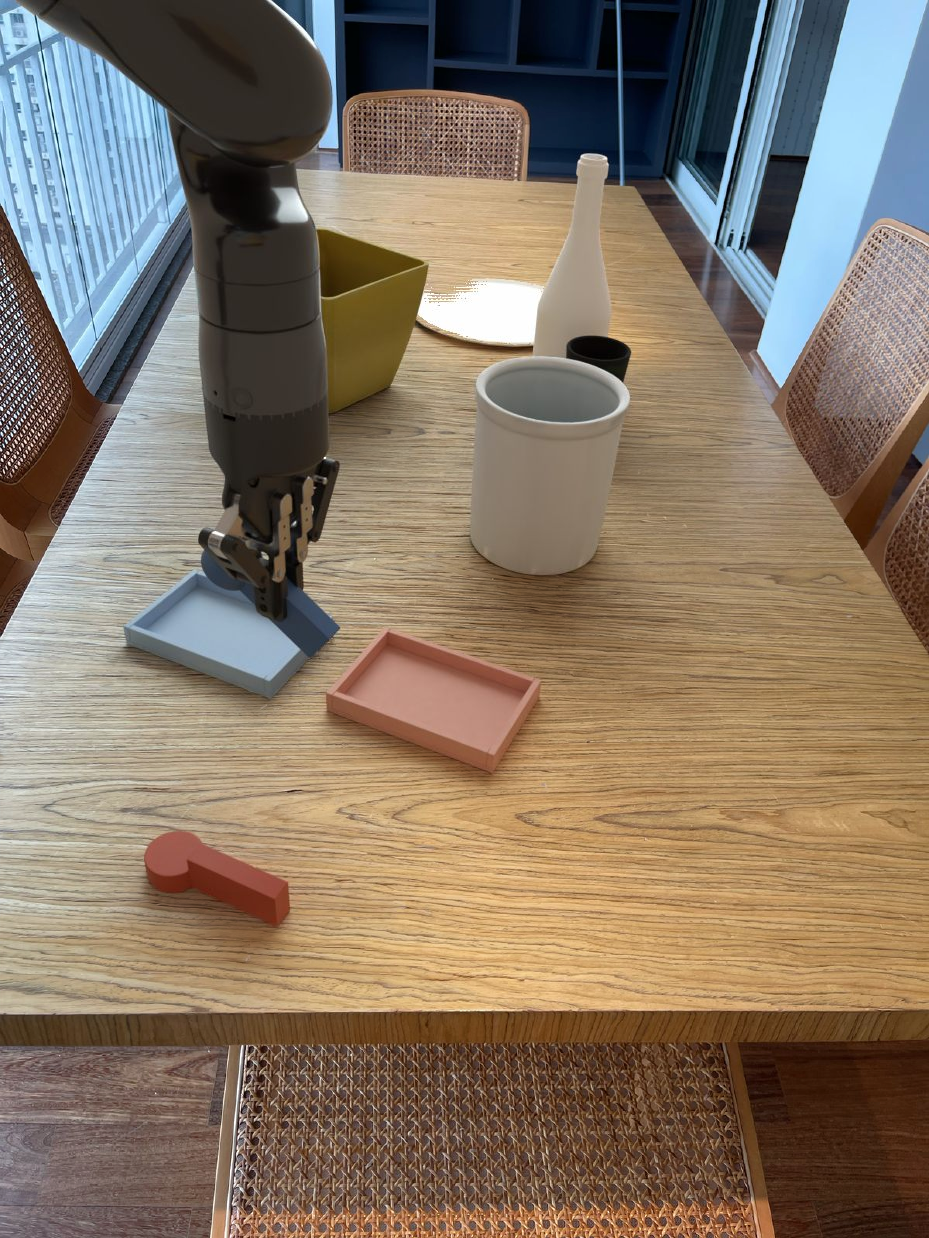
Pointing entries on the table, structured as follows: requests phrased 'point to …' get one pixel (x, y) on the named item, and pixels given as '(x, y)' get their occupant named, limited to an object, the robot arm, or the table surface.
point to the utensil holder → (543, 461)
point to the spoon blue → (303, 614)
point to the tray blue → (216, 636)
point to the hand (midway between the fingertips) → (280, 609)
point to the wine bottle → (577, 271)
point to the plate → (487, 312)
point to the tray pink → (435, 698)
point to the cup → (600, 353)
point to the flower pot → (365, 313)
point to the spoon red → (215, 876)
